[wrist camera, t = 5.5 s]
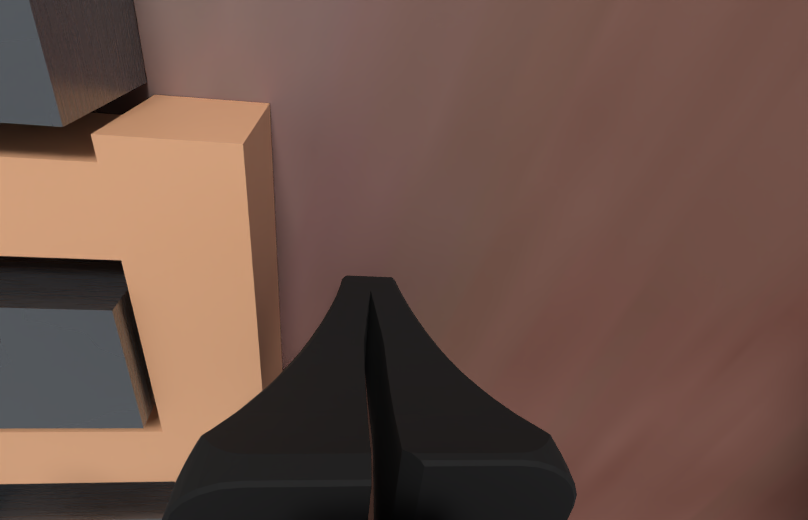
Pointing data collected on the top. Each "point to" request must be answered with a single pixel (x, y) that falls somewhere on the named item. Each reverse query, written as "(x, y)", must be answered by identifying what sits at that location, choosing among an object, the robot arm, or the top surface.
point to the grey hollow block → (70, 267)
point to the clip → (154, 267)
